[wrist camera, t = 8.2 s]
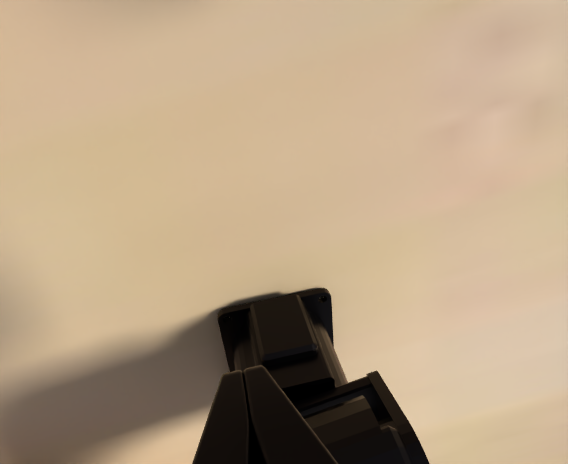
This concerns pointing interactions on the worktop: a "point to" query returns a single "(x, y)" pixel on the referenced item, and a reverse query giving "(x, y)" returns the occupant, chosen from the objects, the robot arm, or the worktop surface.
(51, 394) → the worktop surface
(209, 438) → the robot arm
